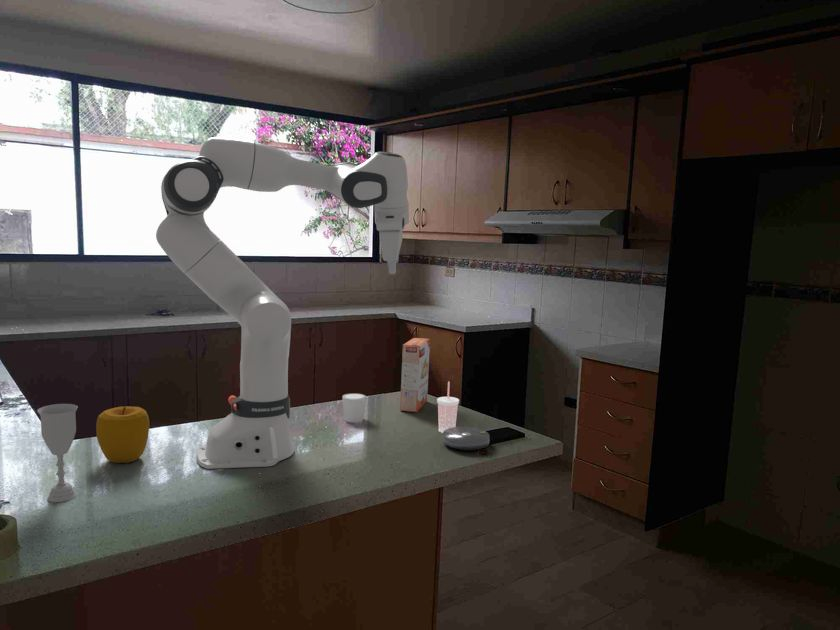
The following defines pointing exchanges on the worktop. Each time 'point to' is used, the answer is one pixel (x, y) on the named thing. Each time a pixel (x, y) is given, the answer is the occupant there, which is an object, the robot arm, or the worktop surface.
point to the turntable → (466, 438)
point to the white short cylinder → (354, 407)
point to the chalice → (59, 443)
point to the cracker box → (414, 374)
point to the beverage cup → (447, 411)
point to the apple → (123, 433)
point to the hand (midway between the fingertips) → (393, 267)
